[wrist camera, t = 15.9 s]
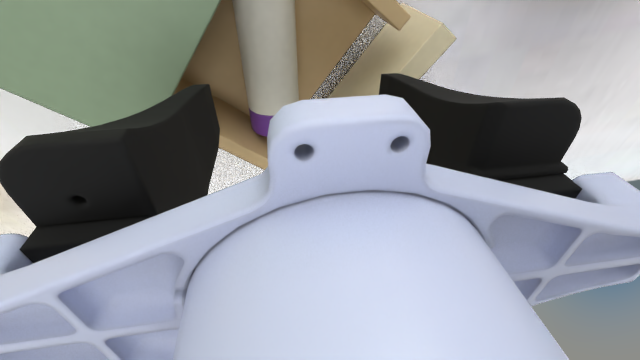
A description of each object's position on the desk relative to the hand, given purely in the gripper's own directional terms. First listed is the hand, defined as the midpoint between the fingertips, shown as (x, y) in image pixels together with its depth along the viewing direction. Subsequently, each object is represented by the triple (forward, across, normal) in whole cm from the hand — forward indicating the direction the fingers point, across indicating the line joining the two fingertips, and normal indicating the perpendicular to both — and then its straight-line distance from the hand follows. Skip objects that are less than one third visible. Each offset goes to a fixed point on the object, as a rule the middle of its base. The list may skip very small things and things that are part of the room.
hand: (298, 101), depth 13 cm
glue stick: (+6, 0, 0) cm, 6 cm away
